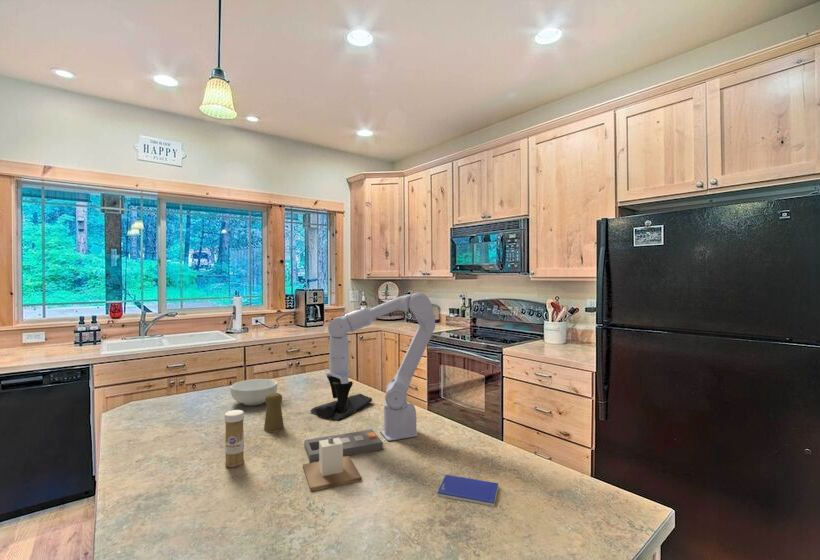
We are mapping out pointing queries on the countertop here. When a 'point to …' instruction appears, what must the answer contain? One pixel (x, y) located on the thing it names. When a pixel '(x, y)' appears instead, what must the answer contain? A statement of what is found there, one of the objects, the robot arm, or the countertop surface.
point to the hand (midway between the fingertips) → (339, 401)
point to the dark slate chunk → (341, 407)
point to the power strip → (347, 444)
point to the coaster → (321, 482)
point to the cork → (273, 413)
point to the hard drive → (468, 490)
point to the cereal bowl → (253, 391)
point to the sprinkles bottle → (234, 438)
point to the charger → (330, 456)
